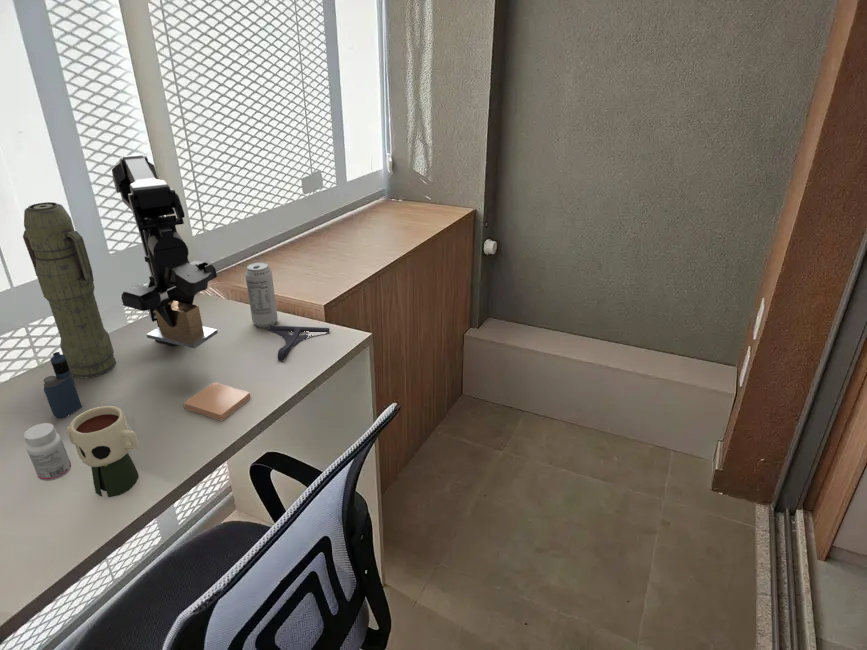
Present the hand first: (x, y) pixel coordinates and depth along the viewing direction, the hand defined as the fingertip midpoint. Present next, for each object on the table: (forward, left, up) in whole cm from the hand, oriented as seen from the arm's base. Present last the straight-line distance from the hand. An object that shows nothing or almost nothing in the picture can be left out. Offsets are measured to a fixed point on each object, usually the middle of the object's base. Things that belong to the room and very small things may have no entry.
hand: (179, 322), depth 116 cm
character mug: (+16, -31, -11) cm, 37 cm away
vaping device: (-9, -21, -11) cm, 26 cm away
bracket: (+13, +17, -12) cm, 25 cm away
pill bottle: (+4, -33, -11) cm, 36 cm away
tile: (+10, -8, -10) cm, 16 cm away
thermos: (-19, -8, -11) cm, 23 cm away
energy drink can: (+1, +24, -11) cm, 26 cm away
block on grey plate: (0, 0, -3) cm, 3 cm away
